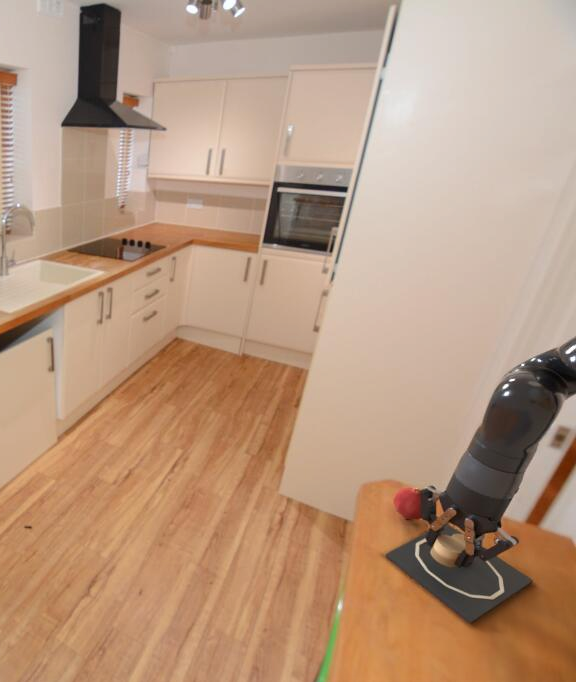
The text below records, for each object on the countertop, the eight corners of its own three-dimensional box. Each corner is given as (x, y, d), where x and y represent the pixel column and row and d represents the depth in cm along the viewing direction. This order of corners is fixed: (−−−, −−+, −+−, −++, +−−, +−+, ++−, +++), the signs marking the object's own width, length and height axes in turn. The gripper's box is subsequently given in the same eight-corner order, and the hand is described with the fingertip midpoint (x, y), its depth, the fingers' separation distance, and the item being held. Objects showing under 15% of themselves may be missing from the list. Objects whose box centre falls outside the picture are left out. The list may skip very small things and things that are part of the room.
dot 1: (449, 570, 79) (457, 556, 77) (425, 553, 82) (431, 539, 81) (463, 562, 80) (470, 548, 79) (438, 545, 84) (445, 531, 82)
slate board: (531, 583, 80) (533, 579, 80) (470, 624, 73) (472, 620, 73) (444, 525, 92) (446, 522, 91) (385, 556, 85) (386, 553, 85)
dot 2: (464, 568, 82) (471, 554, 80) (440, 551, 85) (446, 537, 84) (477, 560, 83) (485, 547, 82) (453, 544, 87) (459, 530, 85)
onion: (392, 502, 97) (404, 473, 94) (425, 517, 93) (439, 487, 90) (385, 517, 93) (397, 487, 90) (419, 533, 90) (433, 503, 86)
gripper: (423, 459, 78) (392, 531, 85) (526, 519, 66) (479, 597, 74) (450, 448, 81) (417, 519, 88) (553, 503, 69) (506, 580, 76)
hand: (446, 554), depth 81 cm, fingers closed on dot 1, 4 cm apart
